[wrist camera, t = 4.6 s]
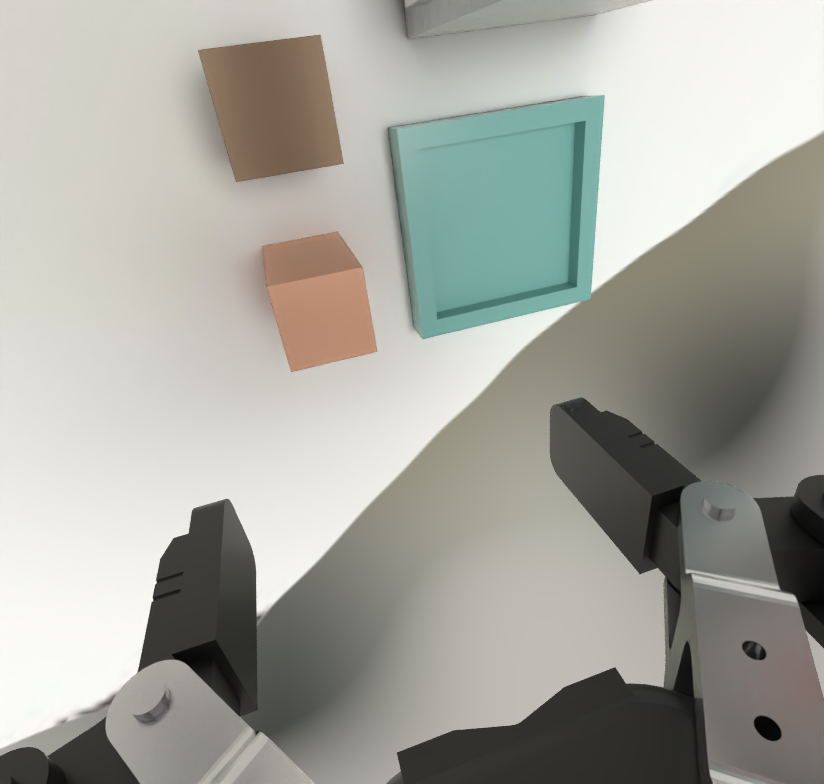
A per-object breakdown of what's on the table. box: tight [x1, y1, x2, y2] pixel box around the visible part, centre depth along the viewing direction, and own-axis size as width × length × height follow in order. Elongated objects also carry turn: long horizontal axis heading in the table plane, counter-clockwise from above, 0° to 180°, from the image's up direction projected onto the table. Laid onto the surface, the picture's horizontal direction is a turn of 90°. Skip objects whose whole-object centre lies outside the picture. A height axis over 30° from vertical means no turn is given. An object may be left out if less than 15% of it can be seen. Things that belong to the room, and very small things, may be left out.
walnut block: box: [198, 35, 344, 182], centre depth 20 cm, size 4×4×7 cm
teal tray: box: [388, 95, 605, 339], centre depth 28 cm, size 11×11×2 cm
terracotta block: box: [262, 232, 377, 372], centre depth 25 cm, size 4×4×7 cm
